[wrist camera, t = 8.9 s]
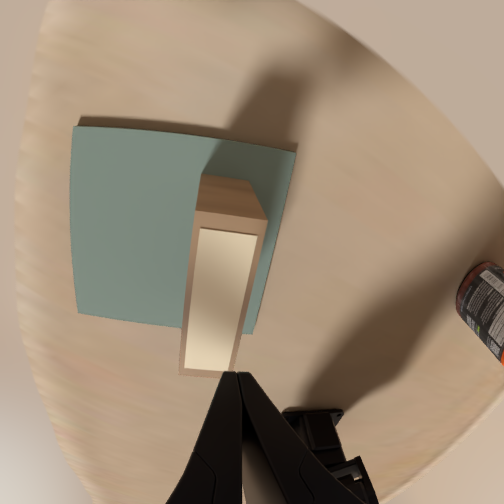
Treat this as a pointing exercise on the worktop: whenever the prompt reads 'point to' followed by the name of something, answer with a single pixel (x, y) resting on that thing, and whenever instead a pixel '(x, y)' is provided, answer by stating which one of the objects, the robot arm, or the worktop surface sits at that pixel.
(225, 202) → the slab
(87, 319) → the worktop surface
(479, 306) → the supplement bottle
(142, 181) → the mat
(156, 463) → the worktop surface
